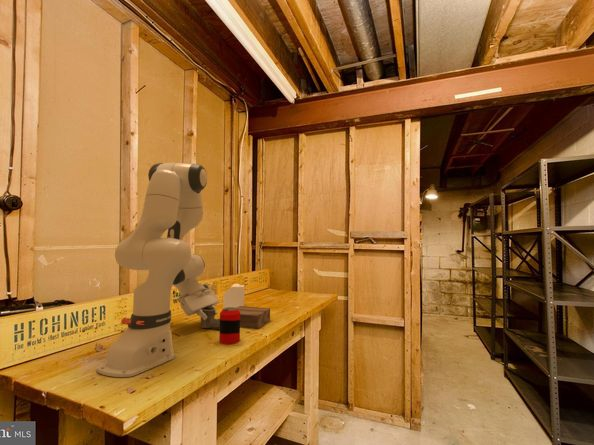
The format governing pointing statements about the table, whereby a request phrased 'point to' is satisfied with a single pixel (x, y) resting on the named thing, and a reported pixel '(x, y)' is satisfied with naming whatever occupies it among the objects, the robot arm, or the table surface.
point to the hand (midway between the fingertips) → (211, 316)
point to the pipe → (210, 319)
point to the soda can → (229, 325)
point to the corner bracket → (234, 296)
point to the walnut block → (253, 317)
